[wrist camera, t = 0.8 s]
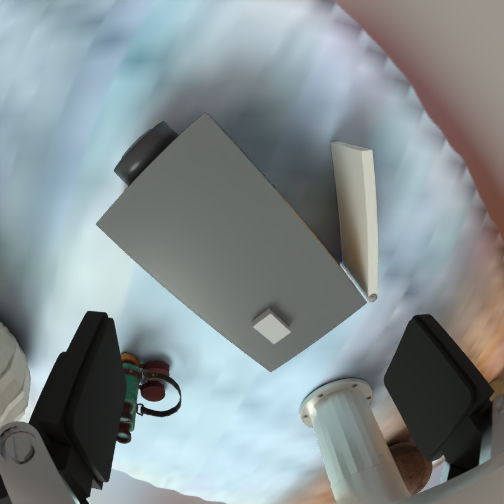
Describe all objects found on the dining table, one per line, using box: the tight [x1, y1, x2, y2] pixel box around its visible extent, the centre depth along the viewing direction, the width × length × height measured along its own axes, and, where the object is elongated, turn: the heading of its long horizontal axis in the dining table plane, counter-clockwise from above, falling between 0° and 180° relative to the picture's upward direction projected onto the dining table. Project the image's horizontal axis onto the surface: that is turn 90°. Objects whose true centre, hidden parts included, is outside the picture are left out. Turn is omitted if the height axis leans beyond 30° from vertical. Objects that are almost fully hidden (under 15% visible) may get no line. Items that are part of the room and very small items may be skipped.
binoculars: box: [116, 353, 181, 444], centre depth 36 cm, size 9×11×10 cm
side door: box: [330, 141, 378, 302], centre depth 29 cm, size 14×2×7 cm, turn 10°
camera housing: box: [96, 113, 367, 372], centre depth 28 cm, size 24×12×9 cm, turn 40°
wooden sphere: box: [388, 442, 432, 496], centre depth 52 cm, size 15×15×15 cm
